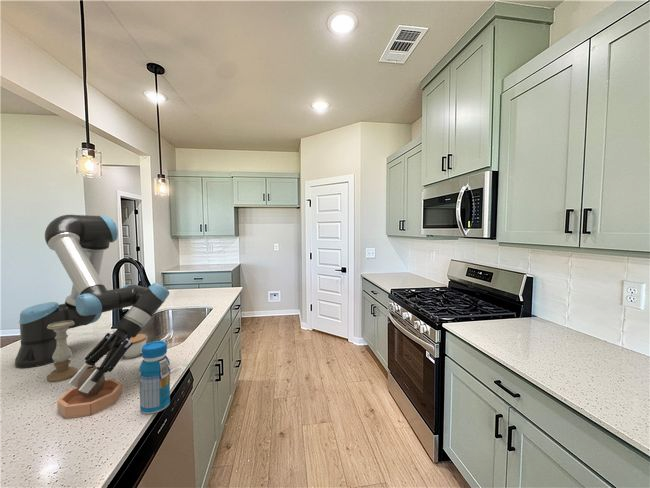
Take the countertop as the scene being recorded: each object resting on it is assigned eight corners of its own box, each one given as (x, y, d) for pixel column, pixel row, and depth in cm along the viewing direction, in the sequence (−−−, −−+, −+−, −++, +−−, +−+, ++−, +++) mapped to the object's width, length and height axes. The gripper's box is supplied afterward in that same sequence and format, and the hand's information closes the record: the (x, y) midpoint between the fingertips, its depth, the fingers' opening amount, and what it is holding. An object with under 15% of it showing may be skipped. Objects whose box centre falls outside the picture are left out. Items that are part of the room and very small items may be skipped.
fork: (142, 388, 101) (142, 383, 101) (185, 362, 120) (185, 358, 120) (149, 389, 100) (148, 384, 100) (192, 363, 119) (191, 359, 119)
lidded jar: (132, 361, 119) (131, 339, 119) (111, 359, 122) (110, 337, 121) (152, 351, 130) (152, 331, 129) (132, 349, 132) (132, 329, 132)
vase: (82, 402, 86) (81, 374, 86) (74, 395, 90) (73, 368, 90) (109, 391, 92) (108, 365, 92) (100, 385, 96) (99, 360, 95)
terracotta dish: (51, 407, 88) (51, 396, 88) (107, 384, 101) (107, 375, 101) (72, 423, 81) (71, 411, 81) (129, 397, 94) (129, 387, 94)
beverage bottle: (140, 419, 83) (139, 352, 82) (138, 404, 90) (137, 343, 89) (172, 408, 88) (171, 346, 87) (168, 395, 95) (167, 337, 94)
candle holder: (39, 381, 103) (37, 327, 102) (62, 370, 112) (61, 319, 111) (62, 382, 103) (60, 327, 102) (84, 370, 111) (82, 320, 110)
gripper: (156, 332, 99) (103, 401, 85) (126, 323, 109) (74, 384, 95) (140, 321, 94) (80, 393, 81) (110, 312, 104) (53, 375, 90)
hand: (77, 388), depth 88 cm, fingers closed on vase, 7 cm apart
